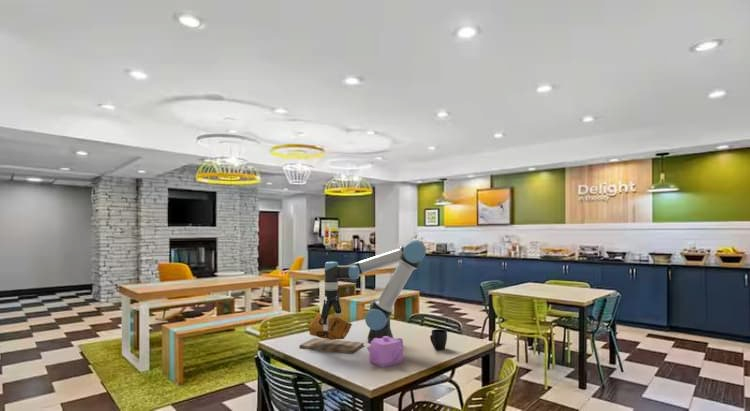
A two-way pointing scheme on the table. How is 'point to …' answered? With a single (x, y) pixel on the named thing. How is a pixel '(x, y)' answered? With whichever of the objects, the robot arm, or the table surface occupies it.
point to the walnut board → (332, 345)
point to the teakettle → (386, 351)
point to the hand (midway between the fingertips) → (331, 327)
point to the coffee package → (329, 328)
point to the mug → (439, 339)
